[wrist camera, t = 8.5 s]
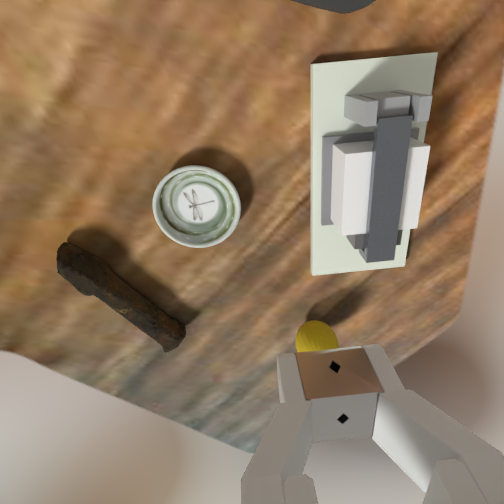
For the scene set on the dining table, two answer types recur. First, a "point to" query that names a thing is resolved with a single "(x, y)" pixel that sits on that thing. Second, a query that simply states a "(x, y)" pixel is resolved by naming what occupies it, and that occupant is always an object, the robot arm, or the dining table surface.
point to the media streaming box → (337, 4)
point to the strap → (386, 186)
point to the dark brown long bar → (117, 295)
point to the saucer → (196, 206)
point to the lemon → (315, 337)
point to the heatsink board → (333, 123)
